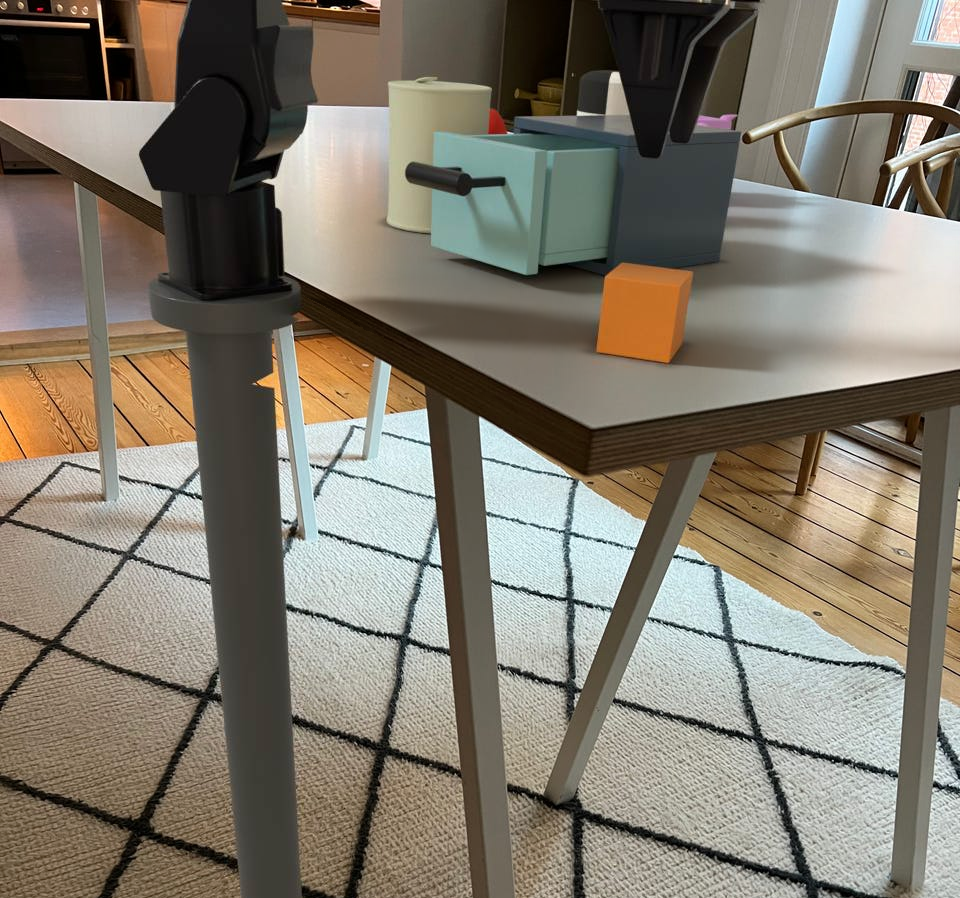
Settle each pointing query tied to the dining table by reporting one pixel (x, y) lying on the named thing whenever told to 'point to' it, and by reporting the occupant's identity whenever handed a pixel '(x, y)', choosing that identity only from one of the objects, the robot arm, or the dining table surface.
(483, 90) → the can
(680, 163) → the small storage cabinet
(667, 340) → the orange rectangular prism
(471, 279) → the dining table surface
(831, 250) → the dining table surface
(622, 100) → the container
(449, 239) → the drawer
